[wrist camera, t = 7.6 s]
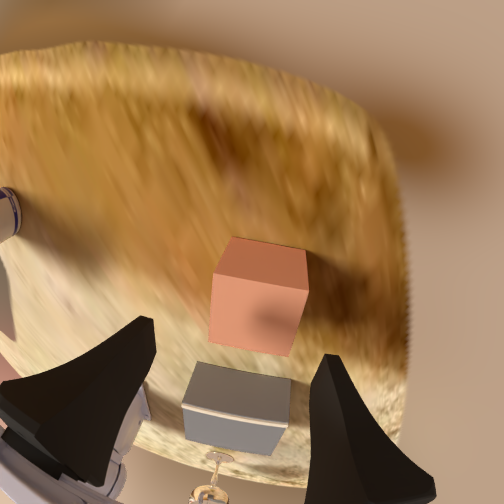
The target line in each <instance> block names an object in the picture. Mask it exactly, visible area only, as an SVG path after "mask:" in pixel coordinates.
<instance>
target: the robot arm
mask: <svg viewBox="0 0 504 504" xmlns="http://www.w3.org/2000/svg"><path fill="white" fill-rule="evenodd" d="M156 352H157V351H156V342H155V333H154V322H153V319H151V318H148V317H144V316H141V315H140V316H139V317H138V318H136V319H135V320H133V321H132V322H130V323H129V324H128V325H126V326H125V327H124V328H122V329H121V330H119V331H118V332H117V333H115V334H114V335H112V336H111V337H110V338H108V339H107V340H105V341H104V342H102V343H101V344H99V345H98V346H96V347H94V348H93V349H91V350H90V351H88V352H86V353H85V354H83V355H81V356H79V357H77V358H75V359H73V360H71V361H69V362H67V363H65V364H63V365H60V366H58V367H55V368H53V369H50V370H48V371H45V372H42V373H39V374H36V375H32V376H28V377H24V378H20V379H14V380H9V381H3V382H2V383H1V385H0V418H1V419H2V420H3V421H4V422H5V424H6V425H7V426H8V427H7V428H6V430H5V429H4V428H3V427H2V426H1V425H0V489H1V490H2V491H3V492H4V493H5V494H6V495H7V496H8V497H9V498H11V499H12V500H13V501H14V502H15V503H16V504H122V503H120V502H118V501H116V500H115V499H116V498H117V497H118V496H119V494H120V493H121V491H122V489H123V487H124V484H125V481H126V476H127V471H126V468H125V465H124V464H123V463H122V462H121V461H122V458H123V456H124V455H126V454H127V453H128V452H129V451H130V449H131V447H132V445H133V442H134V440H135V438H136V436H137V433H138V431H139V429H140V426H141V424H142V422H143V420H144V419H146V420H151V415H150V411H149V407H148V403H147V399H146V396H145V391H144V387H143V381H144V380H145V378H146V376H147V374H148V372H149V370H150V367H151V365H152V363H153V360H154V357H155V355H156ZM309 413H310V436H311V459H310V469H309V478H308V485H307V492H306V498H305V503H304V504H427V503H429V502H431V501H433V500H434V499H435V498H436V489H435V483H434V479H433V477H432V476H430V475H429V474H427V473H426V472H425V471H424V470H422V469H421V468H420V467H418V466H417V465H416V464H415V463H414V462H412V461H411V460H410V459H409V458H408V457H407V456H406V455H405V454H403V452H402V451H401V450H400V449H399V448H398V447H397V446H396V445H395V444H394V443H393V442H392V441H391V440H390V439H389V437H388V436H387V435H386V434H385V433H384V431H383V430H382V429H381V427H380V426H379V425H378V423H377V422H376V421H375V419H374V418H373V416H372V415H371V413H370V412H369V410H368V408H367V407H366V405H365V404H364V402H363V400H362V398H361V397H360V395H359V393H358V391H357V390H356V388H355V386H354V384H353V382H352V380H351V378H350V376H349V374H348V372H347V371H346V369H345V366H344V364H343V362H342V360H341V358H340V357H339V355H331V354H324V356H323V359H322V361H321V363H320V365H319V367H318V370H317V372H316V374H315V376H314V378H313V380H312V382H311V387H310V400H309Z"/></svg>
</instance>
